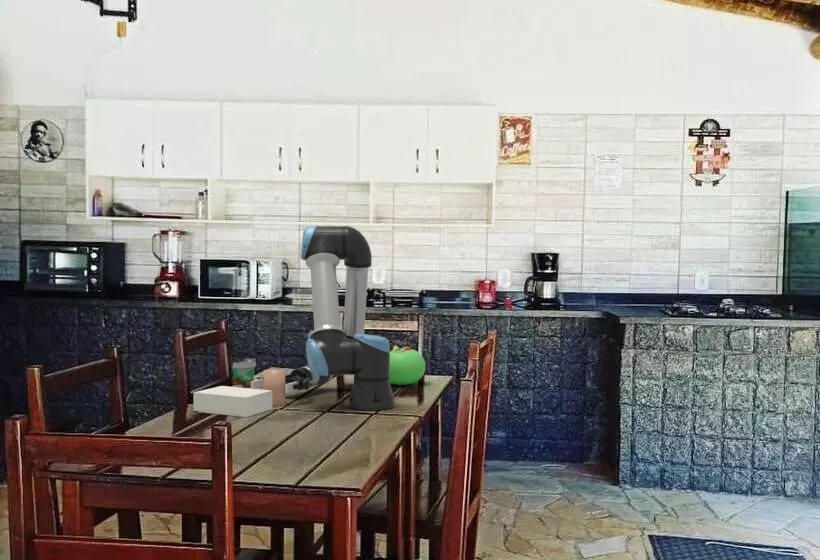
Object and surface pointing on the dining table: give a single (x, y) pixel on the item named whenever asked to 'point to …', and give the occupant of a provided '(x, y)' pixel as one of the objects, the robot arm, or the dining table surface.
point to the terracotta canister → (275, 385)
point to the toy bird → (405, 366)
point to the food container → (244, 373)
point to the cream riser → (233, 401)
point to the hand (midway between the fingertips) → (268, 386)
